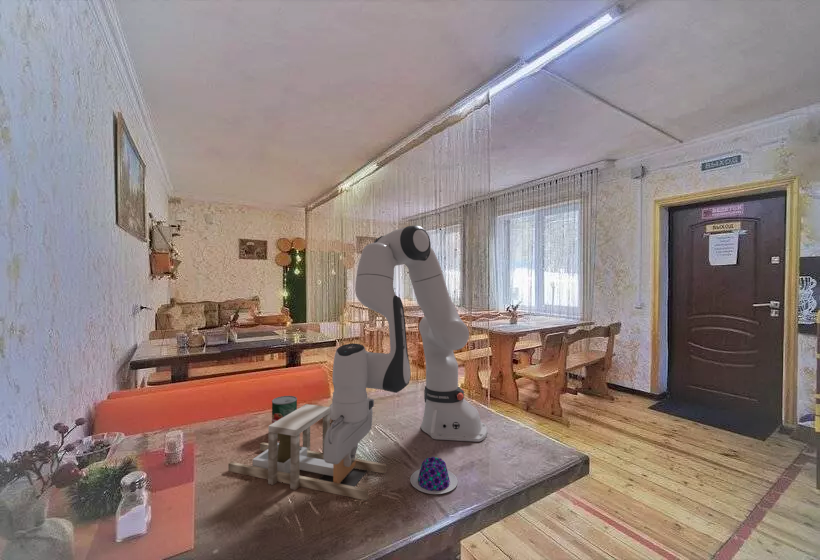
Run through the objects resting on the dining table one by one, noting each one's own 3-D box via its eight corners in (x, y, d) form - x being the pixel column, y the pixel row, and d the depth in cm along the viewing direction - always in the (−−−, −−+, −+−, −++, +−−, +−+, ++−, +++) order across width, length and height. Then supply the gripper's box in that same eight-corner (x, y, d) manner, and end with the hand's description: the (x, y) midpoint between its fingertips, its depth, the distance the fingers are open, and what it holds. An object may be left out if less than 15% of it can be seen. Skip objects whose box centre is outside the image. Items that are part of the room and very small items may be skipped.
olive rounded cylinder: (291, 474, 91) (291, 432, 91) (270, 471, 93) (270, 430, 93) (303, 462, 97) (303, 423, 97) (283, 460, 98) (284, 421, 98)
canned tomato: (266, 435, 114) (266, 401, 114) (283, 426, 121) (283, 394, 121) (285, 439, 111) (285, 405, 111) (301, 429, 118) (302, 397, 118)
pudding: (414, 467, 96) (415, 448, 96) (459, 472, 93) (459, 453, 93) (405, 493, 84) (405, 471, 84) (455, 500, 82) (456, 477, 82)
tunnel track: (388, 468, 94) (389, 414, 94) (363, 504, 79) (363, 440, 79) (266, 446, 106) (266, 398, 106) (223, 474, 91) (223, 418, 91)
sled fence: (355, 467, 94) (355, 444, 94) (336, 488, 85) (337, 463, 85) (277, 452, 102) (277, 432, 102) (252, 470, 92) (252, 447, 92)
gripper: (341, 427, 78) (341, 489, 78) (376, 398, 98) (376, 447, 98) (316, 423, 80) (316, 484, 80) (355, 395, 99) (355, 444, 99)
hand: (349, 463), depth 89 cm, fingers closed, pressing on sled fence
